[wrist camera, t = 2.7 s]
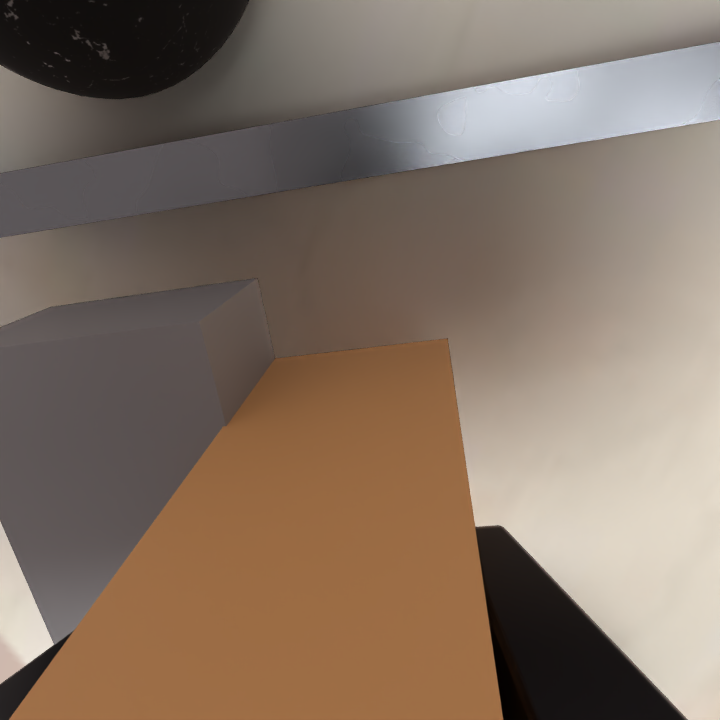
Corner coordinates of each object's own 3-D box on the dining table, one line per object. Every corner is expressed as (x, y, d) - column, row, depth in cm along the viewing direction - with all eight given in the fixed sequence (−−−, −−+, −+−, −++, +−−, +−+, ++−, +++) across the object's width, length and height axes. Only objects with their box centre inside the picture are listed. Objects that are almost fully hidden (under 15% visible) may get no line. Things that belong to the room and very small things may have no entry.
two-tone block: (438, 253, 10) (638, 1388, 1) (471, 557, 12) (629, 1804, 3) (50, 306, 11) (-1704, 1023, 2) (144, 576, 14) (-473, 1517, 4)
